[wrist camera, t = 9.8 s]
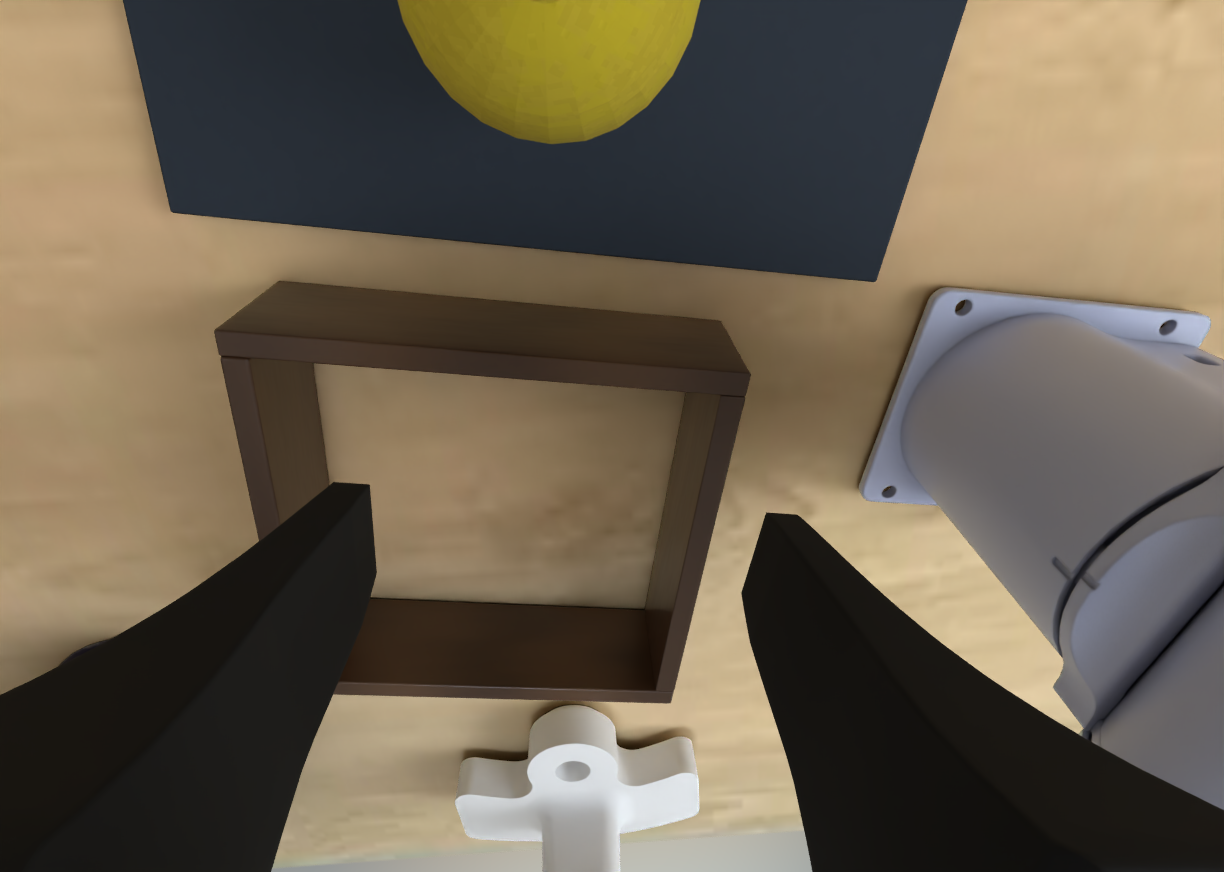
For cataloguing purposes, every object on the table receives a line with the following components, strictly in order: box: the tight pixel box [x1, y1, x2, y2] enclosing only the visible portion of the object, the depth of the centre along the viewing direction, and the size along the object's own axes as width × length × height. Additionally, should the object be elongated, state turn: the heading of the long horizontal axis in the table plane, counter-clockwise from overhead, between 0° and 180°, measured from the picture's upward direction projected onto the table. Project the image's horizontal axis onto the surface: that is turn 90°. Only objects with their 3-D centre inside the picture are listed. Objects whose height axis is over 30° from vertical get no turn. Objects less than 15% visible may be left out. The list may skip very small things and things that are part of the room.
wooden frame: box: [214, 281, 751, 703], centre depth 21 cm, size 13×13×4 cm
